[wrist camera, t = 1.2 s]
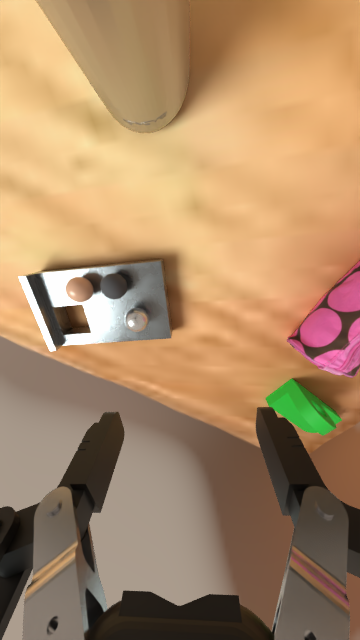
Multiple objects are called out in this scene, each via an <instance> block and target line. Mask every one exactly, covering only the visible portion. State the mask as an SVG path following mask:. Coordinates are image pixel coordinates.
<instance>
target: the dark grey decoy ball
mask: <svg viewBox="0 0 360 640" xmlns="http://www.w3.org/2000/svg"><path fill="white" fill-rule="evenodd" d="M100 287H101V291H102V293H103V294H104V295H105V296H106V297H108V298H110V299H119V298H121V297H123V296H124V295H125V293H126V292H127V282H126V280H125V279H124V278H123V277H122V276H121V275H119V274H115V273H111V274H108V275H106V276H104V277H103V279H102V280H101V284H100Z"/></svg>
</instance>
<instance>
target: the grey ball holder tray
mask: <svg viewBox="0 0 360 640" xmlns="http://www.w3.org/2000/svg"><path fill="white" fill-rule="evenodd" d="M111 273H115V274H119V275H121V276H122V277H123V278H124V279H125V280H126V282H127V292H126V293H125V295H124V296H123V297H121V298H119V299H110V298H108V297H106V296H105V295H104V294H103V293H102V291H101V287H100V284H101V280H102V279H103V277H104V276H106V275H108V274H111ZM74 277H83V278H86V279H87V280H89V281H90V282H91V283H92V285H93V289H94V292H93V295H92V297H91V298H90V299H89V300H87V301H85V302H76V301H73V300H72V299H70V298H69V297H68V295H67V294H66V290H65V287H66V284H67V282H68V281H69V280H70V279H72V278H74ZM19 280H20V282H21V285H22V287H23V289H24V292H25V294H26V296H27V299H28V301H29V303H30V306H31V308H32V310H33V313H34V315H35V317H36V320H37V322H38V325H39V327H40V329H41V332H42V334H43V336H44V339H45V341H46V343H47V346H48V348H49V350H50V351H56V350H58V349H59V348H60V347H61V346H62V345H77V344H92V343H106V342H121V341H136V340H151V339H166V338H171V336H172V331H173V330H172V323H171V315H170V307H169V300H168V292H167V285H166V277H165V269H164V262H163V259H156V260H146V261H137V262H127V263H117V264H107V265H97V266H88V267H78V268H68V269H58V270H48V271H40V272H36V273H32V274H28V275H24V276H20V277H19ZM71 305H83V307H84V311H85V314H86V317H87V320H88V323H89V327H77V328H72V326H71V323H70V321H69V318H68V315H67V312H66V309H65V306H71ZM132 308H141V309H143V310H145V311H146V313H147V314H148V317H149V323H148V325H147V327H146V328H145V329H144V330H142V331H138V332H135V331H131V330H130V329H128V328H127V326H126V325H125V321H124V318H125V315H126V313H127V312H128V311H129V310H130V309H132Z"/></svg>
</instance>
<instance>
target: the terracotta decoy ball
mask: <svg viewBox="0 0 360 640" xmlns="http://www.w3.org/2000/svg"><path fill="white" fill-rule="evenodd" d="M65 290H66V294H67V295H68V297H69V298H70V299H72V300H73V301H76V302H85V301H87V300H89V299H90V298H91V297H92V295H93V292H94V289H93V285H92V283H91V282H90V281H89V280H87V279H86V278H83V277H74V278H72V279H70V280H69V281H68V282H67V284H66V287H65Z"/></svg>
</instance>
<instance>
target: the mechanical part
mask: <svg viewBox="0 0 360 640" xmlns="http://www.w3.org/2000/svg"><path fill="white" fill-rule="evenodd" d="M266 401H267V403H268V405H269V406H270V407H272V408H273V409H274V410H275V411H277V412H278V413H280V414H281V415H282V416H284V417H285V418H287V419H288V420H290V421H291V422H292V423H294V424H295V425H297V426H298V427H300V428H301V429H302V430H304V431H306V432H310V433H317V432H318V433H319V434H321V435H325V434H327V433H329V432H330V431H332V430H334V429H335V428H336V425H335V424H337V423H338V422H340V421H342V419H341V418H340V417H339V415H338V414H337V413H336V412H335V411H334V410H333V409H331V408H330V407H329V406H327V405H326V404H325V403H324V402H322V401H321V400H320V399H318V398H317V397H316V396H314V395H313V394H312V393H311V392H309V391H308V390H307V389H305V388H304V387H303V386H301V385H300V384H299V383H298V382H296V381H295V380H294V379H290V380H289V381H288V382H286V383H285V384H284V385H282V386H281V387H280V388H278V389H277V390H276V391H274V392H273V393H272V394H270V395H269V396H268V397H267V398H266Z"/></svg>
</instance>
